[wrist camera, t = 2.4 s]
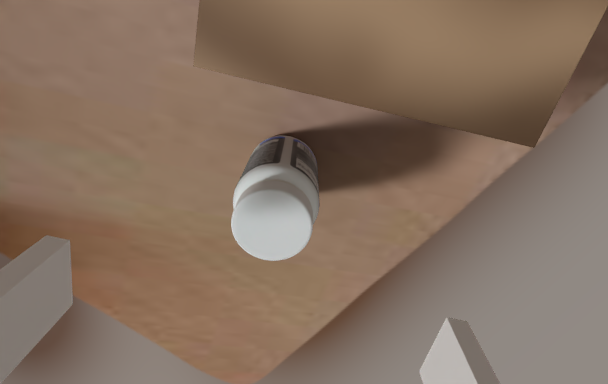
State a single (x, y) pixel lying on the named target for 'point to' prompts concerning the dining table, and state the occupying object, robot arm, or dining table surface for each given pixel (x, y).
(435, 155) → the dining table surface
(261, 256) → the pill bottle
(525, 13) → the small wooden bench
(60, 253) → the robot arm
